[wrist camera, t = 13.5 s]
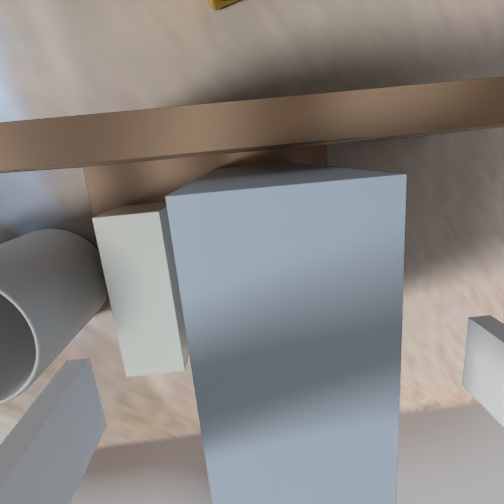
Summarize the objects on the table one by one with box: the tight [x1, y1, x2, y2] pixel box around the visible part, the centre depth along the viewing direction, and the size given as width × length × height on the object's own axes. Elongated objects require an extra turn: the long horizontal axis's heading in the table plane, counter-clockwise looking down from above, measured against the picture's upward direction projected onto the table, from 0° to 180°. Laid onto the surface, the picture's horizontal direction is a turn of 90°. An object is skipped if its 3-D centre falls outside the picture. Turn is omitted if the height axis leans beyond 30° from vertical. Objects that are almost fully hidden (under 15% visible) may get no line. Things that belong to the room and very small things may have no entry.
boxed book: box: [165, 162, 407, 504], centre depth 18 cm, size 6×14×18 cm, turn 5°
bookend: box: [92, 202, 189, 377], centre depth 25 cm, size 4×11×5 cm, turn 5°
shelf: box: [0, 77, 504, 217], centre depth 21 cm, size 26×16×16 cm, turn 95°
